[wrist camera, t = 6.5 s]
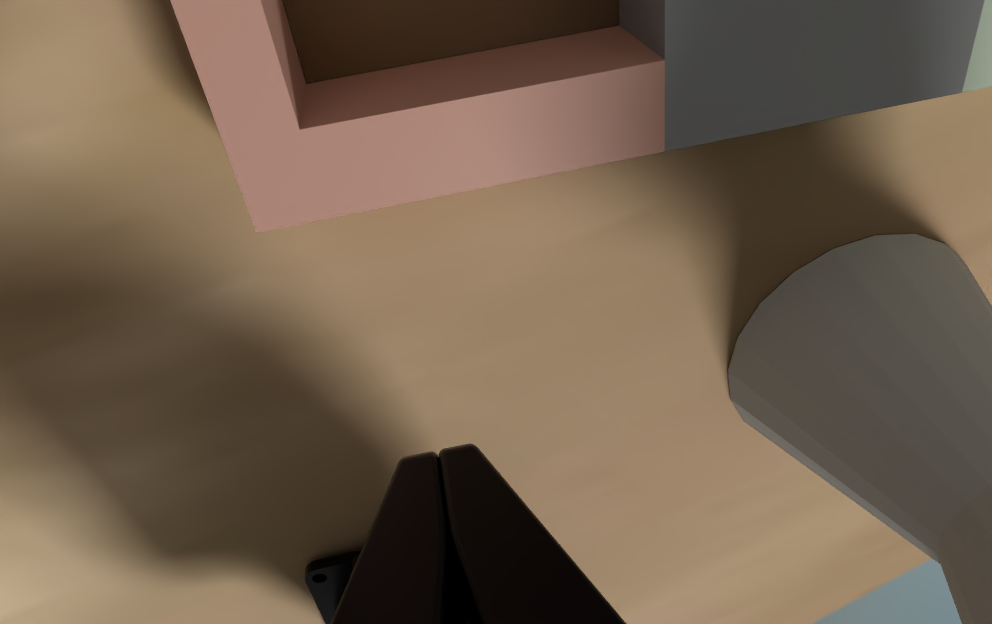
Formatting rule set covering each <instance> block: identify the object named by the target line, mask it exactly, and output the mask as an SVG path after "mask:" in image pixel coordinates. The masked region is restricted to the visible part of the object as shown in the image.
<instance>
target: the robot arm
mask: <svg viewBox="0 0 992 624" xmlns="http://www.w3.org/2000/svg"><path fill="white" fill-rule="evenodd" d="M305 581H306V583H307V586H308V588H309V590H310V592H311V594H312V596H313V598H314V600H315V602H316V604H317V606H318V609H319V611H320V613H321V615H322V617H323V619H324V621H325V623H326V624H626V623H625V622H624V620H623V619H622V618H621V617H620V616H619V614H618V613H617V612H616V611H615V610H614V608H613V607H612V606H611V605H610V604H609V603H608V601H607V600H606V599H605V598H604V597H603V595H602V594H601V593H600V592H599V591H598V590H597V588H596V587H595V586H594V585H593V584H592V582H591V581H590V580H589V579H588V578H587V576H586V575H585V574H584V573H583V572H582V571H581V569H580V568H579V567H578V566H577V565H576V563H575V562H574V561H573V560H572V559H571V558H570V556H569V555H568V554H567V553H566V552H565V550H564V549H563V548H562V547H561V546H560V544H559V543H558V542H557V541H556V540H555V539H554V537H553V536H552V535H551V534H550V533H549V531H548V530H547V529H546V528H545V527H544V525H543V524H542V523H541V522H540V521H539V520H538V518H537V517H536V516H535V515H534V514H533V512H532V511H531V510H530V509H529V508H528V507H527V505H526V504H525V503H524V502H523V501H522V499H521V498H520V497H519V496H518V495H517V493H516V492H515V491H514V490H513V489H512V488H511V486H510V485H509V484H508V483H507V482H506V480H505V479H504V478H503V477H502V476H501V475H500V473H499V472H498V471H497V470H496V469H495V467H494V466H493V465H492V464H491V463H490V461H489V460H488V459H487V458H486V457H485V456H484V454H483V453H482V452H481V451H480V450H479V448H478V447H476V446H475V445H473V444H465V445H460V446H455V447H450V448H445V449H442V450H441V451H440V453H439V457H438V455H437V454H436V453H435V452H426V453H421V454H416V455H411V456H406V457H403V458H402V459H401V460H400V461H399V463H398V465H397V467H396V470H395V472H394V474H393V477H392V479H391V482H390V484H389V486H388V489H387V491H386V494H385V496H384V498H383V501H382V503H381V505H380V508H379V510H378V513H377V515H376V517H375V520H374V522H373V524H372V527H371V529H370V532H369V534H368V536H367V539H366V541H365V543H364V546H363V548H362V550H359V551H355V552H350V553H346V554H342V555H337V556H333V557H329V558H324V559H320V560H316V561H313V562H311V563H309V564H308V565H307V567H306V571H305Z"/></svg>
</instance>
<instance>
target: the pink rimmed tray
mask: <svg viewBox="0 0 992 624" xmlns="http://www.w3.org/2000/svg"><path fill="white" fill-rule="evenodd" d="M170 1H171V4H172V6H173V9H174V12H175V14H176V17H177V20H178V23H179V25H180V28H181V31H182V33H183V36H184V39H185V41H186V44H187V47H188V50H189V52H190V55H191V58H192V60H193V63H194V66H195V68H196V71H197V74H198V77H199V79H200V82H201V85H202V87H203V90H204V93H205V95H206V98H207V101H208V103H209V106H210V109H211V112H212V114H213V117H214V120H215V122H216V125H217V128H218V130H219V133H220V136H221V139H222V141H223V144H224V147H225V149H226V152H227V155H228V157H229V160H230V163H231V166H232V168H233V171H234V174H235V176H236V179H237V182H238V184H239V187H240V190H241V193H242V195H243V198H244V201H245V203H246V206H247V209H248V211H249V214H250V217H251V219H252V222H253V225H254V228H255V230H256V233H258V232H263V231H268V230H273V229H278V228H283V227H288V226H293V225H298V224H303V223H308V222H313V221H318V220H323V219H328V218H333V217H338V216H343V215H348V214H353V213H358V212H363V211H369V210H374V209H379V208H384V207H389V206H394V205H399V204H404V203H409V202H414V201H419V200H424V199H429V198H434V197H439V196H444V195H449V194H454V193H459V192H464V191H469V190H474V189H479V188H484V187H489V186H494V185H499V184H504V183H509V182H514V181H519V180H524V179H529V178H535V177H540V176H545V175H550V174H555V173H560V172H565V171H570V170H575V169H580V168H585V167H590V166H595V165H600V164H605V163H610V162H615V161H620V160H625V159H630V158H635V157H640V156H645V155H650V154H655V153H660V152H665V151H670V150H675V149H680V148H685V147H690V146H695V145H701V144H706V143H711V142H716V141H721V140H726V139H731V138H736V137H741V136H746V135H751V134H756V133H761V132H766V131H771V130H776V129H781V128H786V127H791V126H796V125H801V124H806V123H811V122H816V121H821V120H826V119H831V118H836V117H841V116H846V115H851V114H856V113H861V112H867V111H872V110H877V109H882V108H887V107H892V106H897V105H902V104H907V103H912V102H917V101H922V100H927V99H932V98H937V97H942V96H947V95H952V94H957V93H962V92H967V91H972V90H977V89H982V88H987V87H992V0H619V26H615V27H609V28H604V29H599V30H593V31H588V32H583V33H577V34H572V35H566V36H561V37H556V38H550V39H545V40H540V41H534V42H529V43H524V44H518V45H513V46H507V47H502V48H497V49H491V50H486V51H481V52H475V53H470V54H465V55H459V56H454V57H448V58H443V59H438V60H432V61H427V62H422V63H416V64H411V65H405V66H400V67H395V68H389V69H384V70H379V71H373V72H368V73H363V74H357V75H352V76H346V77H341V78H336V79H330V80H325V81H320V82H314V83H309V84H306V82H305V79H304V75H303V72H302V68H301V65H300V61H299V58H298V54H297V51H296V47H295V44H294V40H293V37H292V33H291V30H290V26H289V23H288V19H287V16H286V12H285V9H284V5H283V2H282V0H170Z"/></svg>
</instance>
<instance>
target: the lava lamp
mask: <svg viewBox="0 0 992 624" xmlns="http://www.w3.org/2000/svg"><path fill="white" fill-rule="evenodd" d="M728 378H729V390H730V399H731V401H732V403H733V404H734V406H735V408H736V409H737V411H738V412H739V414H740V416H741V417H742V419H743V421H744V422H746V423H747V424H748V425H750V426H751V427H753V428H754V429H755V430H757V431H758V432H759V433H761V434H762V435H764V436H765V437H766V438H768V439H769V440H770V441H772V442H773V443H775V444H776V445H777V446H779V447H780V448H781V449H783V450H784V451H786V452H787V453H788V454H790V455H791V456H792V457H794V458H795V459H796V460H798V461H799V462H801V463H802V464H803V465H805V466H806V467H807V468H809V469H810V470H812V471H813V472H814V473H816V474H817V475H818V476H820V477H821V478H823V479H824V480H825V481H827V482H828V483H829V484H831V485H832V486H834V487H835V488H836V489H838V490H839V491H840V492H842V493H843V494H845V495H846V496H847V497H849V498H850V499H851V500H853V501H854V502H856V503H857V504H858V505H860V506H861V507H862V508H864V509H865V510H867V511H868V512H869V513H871V514H872V515H873V516H875V517H876V518H877V519H879V520H880V521H882V522H883V523H884V524H886V525H887V526H888V527H890V528H891V529H893V530H894V531H895V532H897V533H898V534H899V535H901V536H902V537H904V538H905V539H906V540H908V541H909V542H910V543H912V544H913V545H915V546H916V547H917V548H919V549H920V550H921V551H923V552H924V553H926V554H927V555H928V556H930V557H931V558H932V559H934V560H935V561H937V562H938V563H939V564H941V566H942V569H943V572H944V574H945V578H946V580H947V583H948V586H949V589H950V591H951V594H952V597H953V600H954V603H955V605H956V608H957V611H958V613H959V616H960V619H961V622H962V624H992V306H991V304H990V302H989V301H988V299H987V298H986V296H985V294H984V293H983V291H982V289H981V288H980V286H979V285H978V283H977V281H976V280H975V278H974V276H973V275H972V273H971V272H970V270H969V268H968V267H967V265H966V264H965V263H964V262H963V261H962V260H961V259H960V258H959V257H958V256H957V255H956V254H955V253H954V252H953V251H952V249H951V248H950V247H949V246H948V245H947V244H944V243H941V242H938V241H935V240H932V239H929V238H926V237H923V236H920V235H918V234H894V235H875V236H872V237H868V238H865V239H862V240H859V241H856V242H853V243H849V244H846V245H843V246H840V247H837V248H834V249H832V250H830V251H828V252H827V253H825V254H823V255H822V256H820V257H818V258H817V259H815V260H813V261H812V262H810V263H808V264H807V265H805V266H803V267H801V268H800V269H798V270H796V271H795V272H793V273H792V274H791V275H790V276H789V277H788V278H787V279H786V280H784V281H783V282H782V283H781V284H780V285H779V286H778V287H777V288H776V289H775V290H774V291H773V292H772V293H771V294H770V295H768V296H767V297H766V298H765V299H764V300H763V301H762V302H761V303H760V304H759V306H758V307H757V309H756V310H755V312H754V313H753V315H752V316H751V318H750V319H749V321H748V322H747V324H746V326H745V327H744V329H743V330H742V332H741V333H740V335H739V336H738V338H737V341H736V345H735V348H734V351H733V355H732V358H731V361H730V365H729V368H728Z"/></svg>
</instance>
